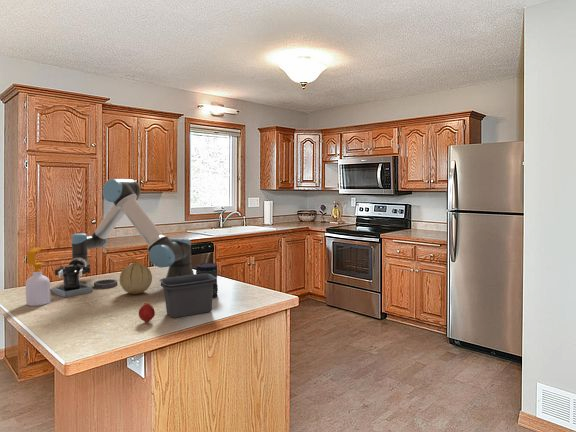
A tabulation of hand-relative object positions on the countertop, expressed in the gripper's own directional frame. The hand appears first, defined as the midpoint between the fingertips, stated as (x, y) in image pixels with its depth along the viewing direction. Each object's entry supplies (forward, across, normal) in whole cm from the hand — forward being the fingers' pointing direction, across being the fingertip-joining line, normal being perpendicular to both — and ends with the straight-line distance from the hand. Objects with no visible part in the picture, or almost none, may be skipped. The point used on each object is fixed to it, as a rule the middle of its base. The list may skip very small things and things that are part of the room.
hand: (69, 274), depth 199 cm
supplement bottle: (-5, 0, -9) cm, 10 cm away
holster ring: (-14, -14, -10) cm, 22 cm away
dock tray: (-5, 0, -10) cm, 11 cm away
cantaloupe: (+7, -30, -10) cm, 32 cm away
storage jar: (+23, -61, -10) cm, 66 cm away
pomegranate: (+53, -34, -10) cm, 64 cm away
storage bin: (+45, -50, -10) cm, 68 cm away
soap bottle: (+11, +11, -10) cm, 19 cm away
